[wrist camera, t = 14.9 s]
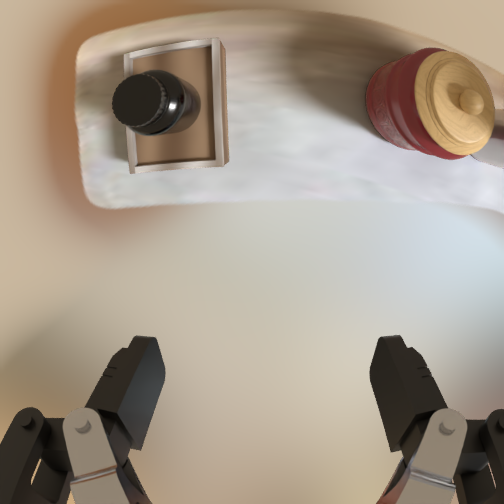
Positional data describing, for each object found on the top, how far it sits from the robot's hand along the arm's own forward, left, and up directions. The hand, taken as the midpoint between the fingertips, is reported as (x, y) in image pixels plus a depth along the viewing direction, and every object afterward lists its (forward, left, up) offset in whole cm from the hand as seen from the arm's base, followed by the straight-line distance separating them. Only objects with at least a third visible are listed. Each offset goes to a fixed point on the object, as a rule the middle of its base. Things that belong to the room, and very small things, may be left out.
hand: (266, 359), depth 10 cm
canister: (-20, -12, -33) cm, 41 cm away
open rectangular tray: (+11, -11, -33) cm, 36 cm away
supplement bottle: (+11, -11, -28) cm, 32 cm away
